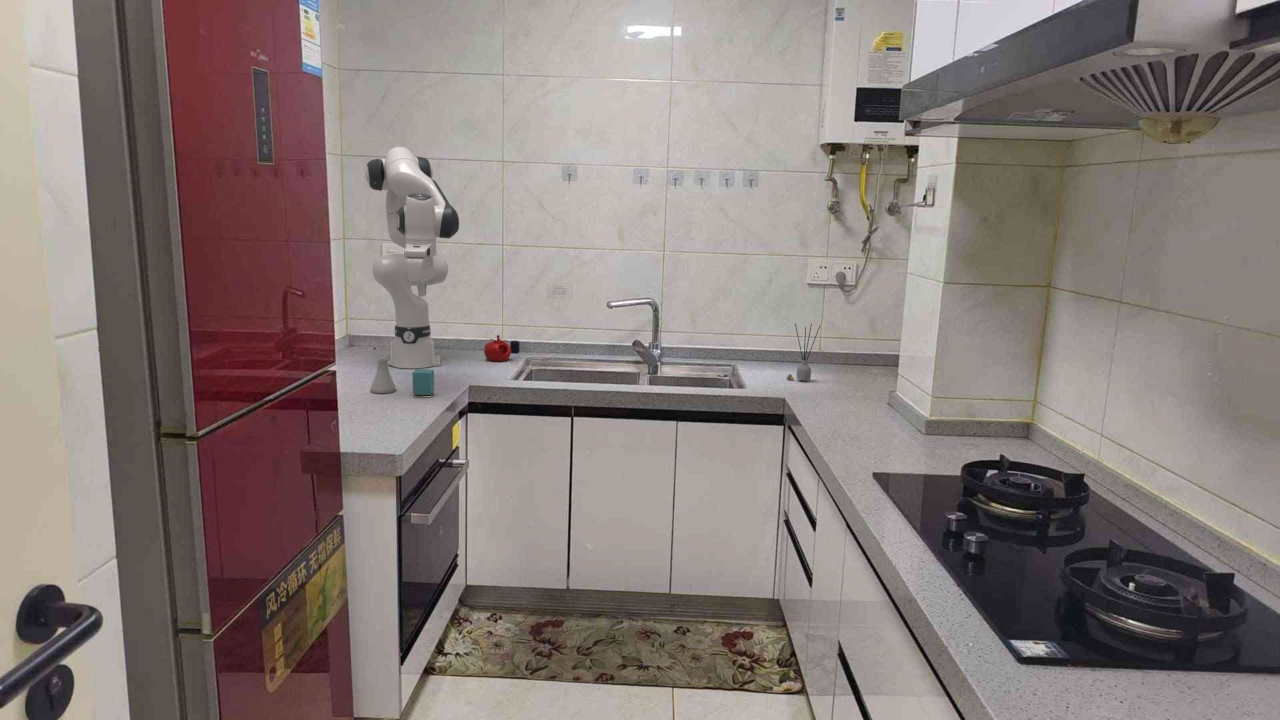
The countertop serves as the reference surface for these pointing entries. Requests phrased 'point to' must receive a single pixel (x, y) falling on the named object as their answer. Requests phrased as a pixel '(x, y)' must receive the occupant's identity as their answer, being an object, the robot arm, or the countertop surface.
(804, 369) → the reed diffuser
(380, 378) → the flask
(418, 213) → the robot arm
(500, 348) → the hollow red tomato
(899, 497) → the countertop surface
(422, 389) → the teal upright block
